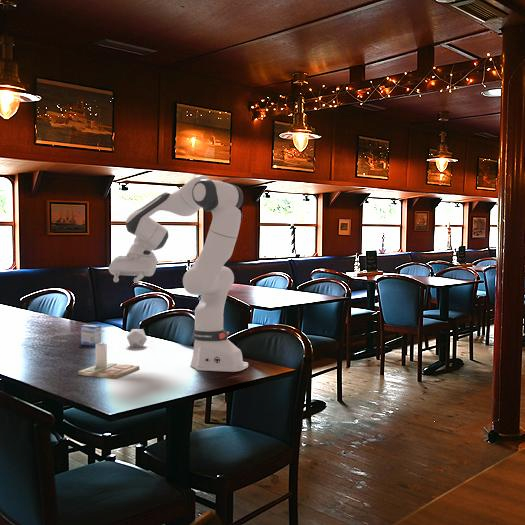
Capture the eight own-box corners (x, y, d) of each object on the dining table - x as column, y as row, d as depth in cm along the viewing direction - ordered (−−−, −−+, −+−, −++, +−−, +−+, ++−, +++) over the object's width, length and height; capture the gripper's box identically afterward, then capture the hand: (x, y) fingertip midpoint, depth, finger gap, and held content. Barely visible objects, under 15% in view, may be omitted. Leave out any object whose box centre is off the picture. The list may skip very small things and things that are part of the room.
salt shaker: (108, 366, 235) (108, 342, 234) (102, 368, 231) (102, 343, 231) (99, 365, 236) (99, 341, 236) (93, 367, 232) (93, 343, 232)
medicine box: (81, 344, 286) (80, 325, 286) (87, 342, 290) (87, 324, 290) (95, 345, 283) (95, 326, 283) (101, 344, 287) (101, 325, 287)
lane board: (139, 369, 238) (139, 365, 237) (116, 378, 222) (116, 374, 222) (103, 365, 243) (103, 361, 243) (77, 374, 228) (77, 370, 228)
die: (137, 350, 276) (149, 332, 279) (121, 340, 277) (133, 322, 280) (140, 353, 284) (152, 335, 287) (124, 343, 285) (136, 326, 288)
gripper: (113, 251, 266) (100, 275, 258) (156, 252, 260) (144, 277, 251) (119, 261, 271) (106, 285, 262) (161, 262, 264) (149, 287, 255)
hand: (125, 281), depth 257 cm, fingers open, 8 cm apart
